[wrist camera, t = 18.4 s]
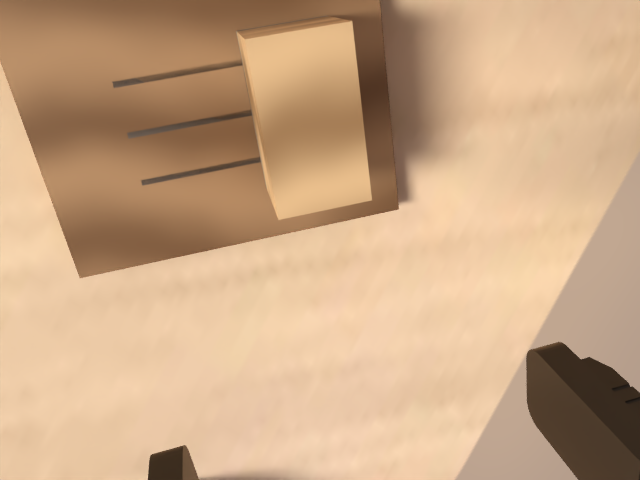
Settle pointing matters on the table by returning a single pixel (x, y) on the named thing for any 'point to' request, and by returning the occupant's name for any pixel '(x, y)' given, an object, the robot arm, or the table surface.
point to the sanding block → (307, 113)
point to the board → (168, 121)
